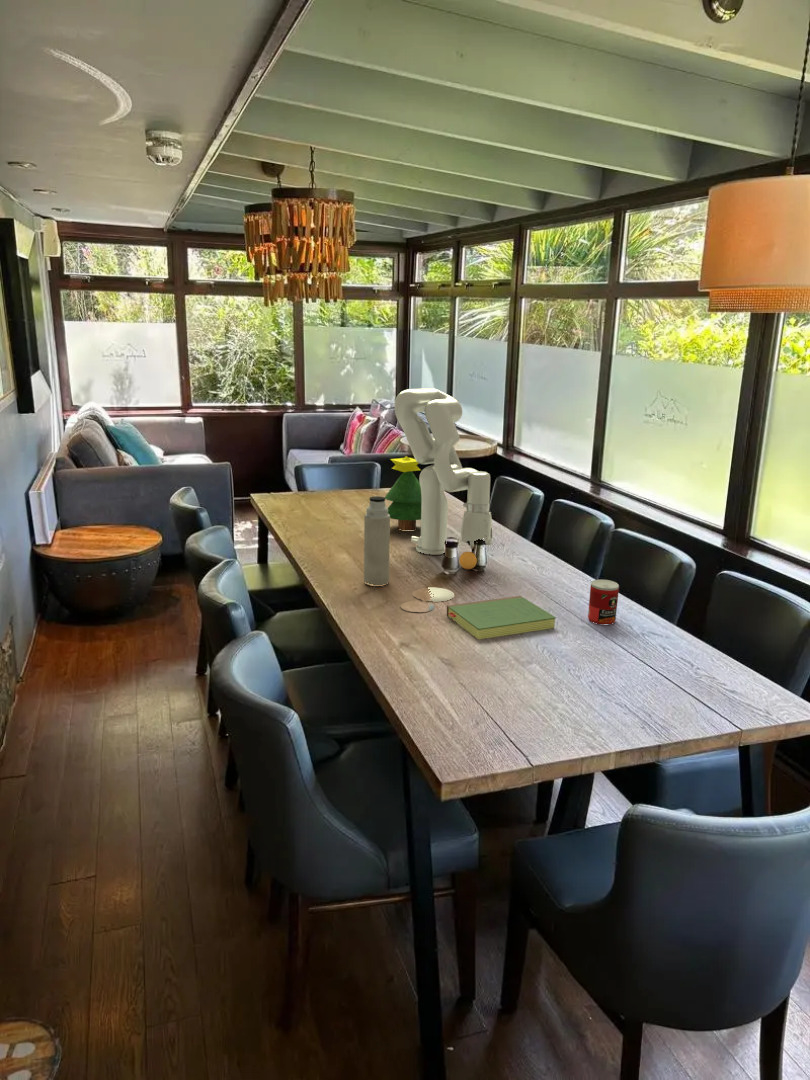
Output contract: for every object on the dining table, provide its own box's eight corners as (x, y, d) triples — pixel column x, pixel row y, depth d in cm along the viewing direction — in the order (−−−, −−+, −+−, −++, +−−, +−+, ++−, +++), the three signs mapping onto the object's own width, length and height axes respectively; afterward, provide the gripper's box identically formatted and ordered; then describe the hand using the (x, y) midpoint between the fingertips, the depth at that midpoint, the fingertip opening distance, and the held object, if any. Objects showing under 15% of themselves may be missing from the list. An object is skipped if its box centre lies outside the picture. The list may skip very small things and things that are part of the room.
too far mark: (394, 609, 226) (394, 608, 226) (409, 598, 234) (409, 598, 234) (425, 615, 221) (425, 614, 221) (439, 604, 230) (439, 604, 230)
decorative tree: (440, 531, 311) (442, 457, 303) (400, 538, 301) (402, 461, 293) (412, 521, 326) (414, 450, 318) (373, 527, 316) (374, 453, 308)
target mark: (404, 597, 235) (404, 596, 235) (423, 585, 247) (423, 584, 247) (443, 604, 230) (443, 604, 230) (460, 592, 241) (461, 591, 241)
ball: (456, 569, 263) (456, 552, 262) (462, 565, 268) (463, 548, 267) (472, 572, 261) (473, 555, 259) (479, 567, 266) (479, 551, 264)
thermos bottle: (376, 577, 253) (377, 493, 246) (393, 583, 248) (395, 497, 241) (358, 582, 248) (359, 497, 240) (376, 588, 243) (377, 501, 235)
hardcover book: (519, 607, 231) (520, 595, 230) (555, 630, 214) (556, 617, 213) (444, 618, 221) (444, 605, 220) (475, 642, 205) (476, 629, 204)
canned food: (600, 627, 216) (604, 589, 213) (581, 617, 222) (584, 581, 220) (621, 623, 219) (625, 586, 216) (602, 613, 226) (605, 577, 223)
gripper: (453, 507, 264) (452, 559, 269) (495, 512, 258) (493, 565, 263) (461, 503, 271) (459, 554, 276) (502, 508, 265) (500, 559, 270)
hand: (476, 559), depth 269 cm, fingers closed
